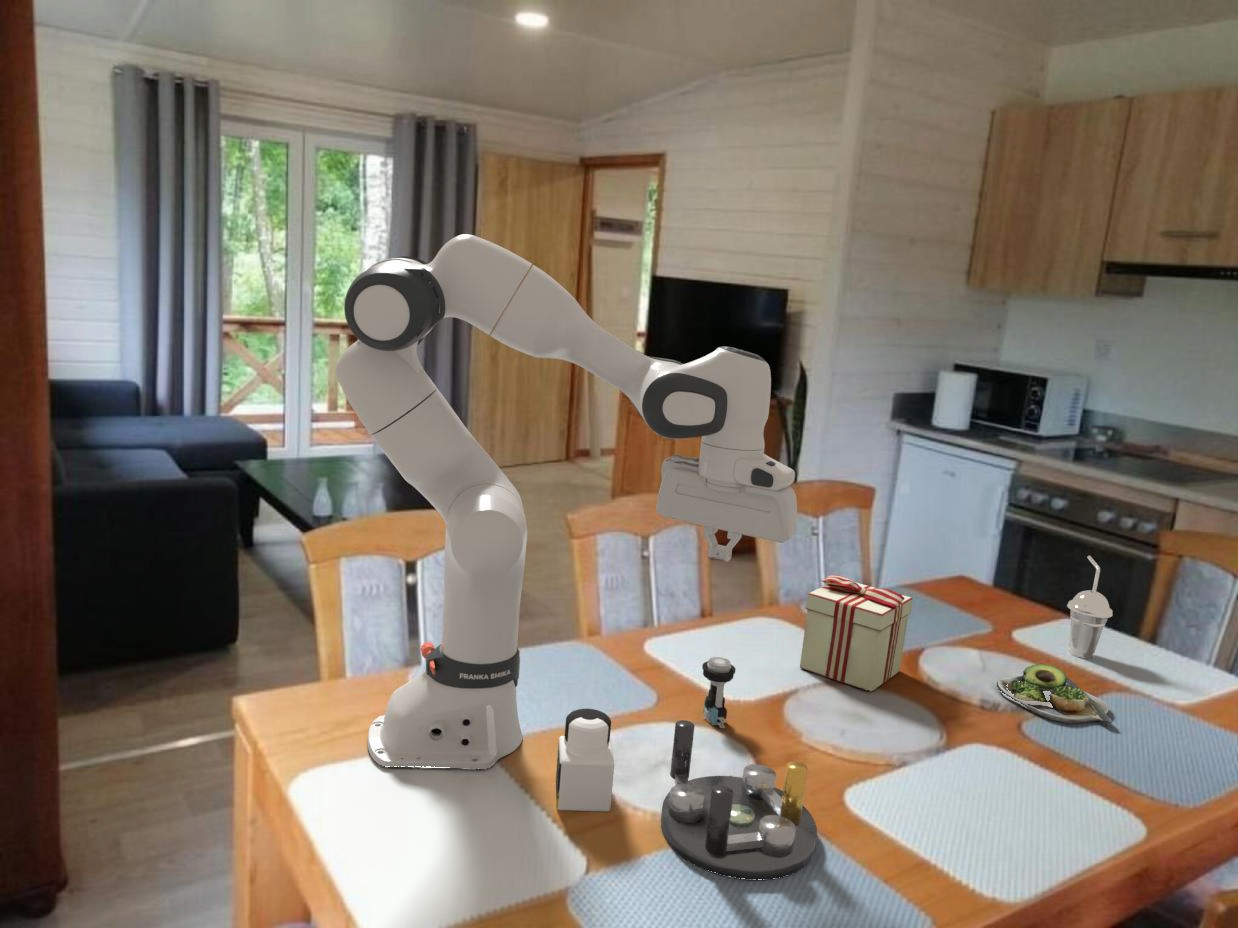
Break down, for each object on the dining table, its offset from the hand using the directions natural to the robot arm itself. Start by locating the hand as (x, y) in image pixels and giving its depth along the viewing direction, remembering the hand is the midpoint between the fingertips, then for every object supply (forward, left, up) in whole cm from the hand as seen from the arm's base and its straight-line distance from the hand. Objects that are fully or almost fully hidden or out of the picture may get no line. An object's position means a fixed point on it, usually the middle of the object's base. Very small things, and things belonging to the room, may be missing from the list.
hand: (719, 558), depth 133 cm
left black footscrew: (-8, -14, -29) cm, 33 cm away
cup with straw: (+97, +27, -31) cm, 105 cm away
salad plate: (+73, +9, -32) cm, 80 cm away
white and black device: (-20, -8, -31) cm, 38 cm away
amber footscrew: (+3, -17, -29) cm, 34 cm away
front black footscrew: (-4, -26, -29) cm, 39 cm away
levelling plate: (-2, -19, -31) cm, 36 cm away
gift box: (+42, +27, -31) cm, 59 cm away
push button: (+7, +10, -31) cm, 33 cm away
